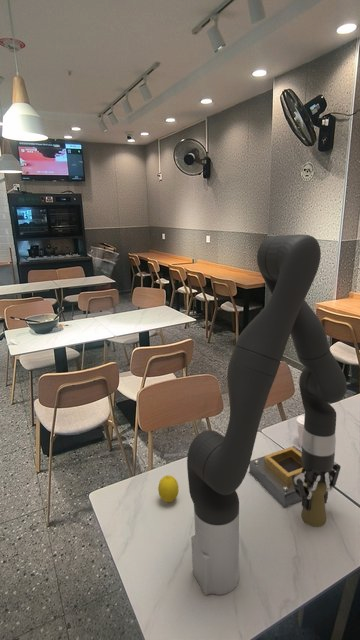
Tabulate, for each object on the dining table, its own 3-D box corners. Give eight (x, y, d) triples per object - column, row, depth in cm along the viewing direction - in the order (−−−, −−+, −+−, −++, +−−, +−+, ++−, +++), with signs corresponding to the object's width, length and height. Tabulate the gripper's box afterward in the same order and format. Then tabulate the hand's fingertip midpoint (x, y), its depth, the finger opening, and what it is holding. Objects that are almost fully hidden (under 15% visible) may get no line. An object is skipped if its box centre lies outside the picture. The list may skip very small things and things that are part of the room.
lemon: (166, 491, 105) (164, 467, 103) (182, 498, 102) (181, 473, 100) (155, 504, 100) (153, 479, 98) (172, 511, 98) (170, 485, 96)
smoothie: (319, 448, 122) (321, 410, 119) (303, 453, 120) (305, 414, 116) (306, 438, 128) (308, 402, 124) (291, 443, 126) (292, 406, 122)
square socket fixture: (284, 507, 97) (284, 486, 96) (249, 472, 112) (249, 453, 110) (336, 485, 105) (337, 466, 103) (297, 455, 119) (298, 437, 117)
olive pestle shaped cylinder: (328, 528, 90) (331, 490, 88) (302, 525, 92) (304, 487, 89) (324, 510, 96) (326, 473, 93) (300, 507, 97) (301, 471, 95)
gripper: (306, 462, 83) (302, 525, 87) (352, 445, 88) (347, 505, 92) (284, 445, 89) (282, 504, 93) (328, 430, 95) (324, 487, 99)
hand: (314, 504), depth 93 cm, fingers closed on olive pestle shaped cylinder, 4 cm apart
